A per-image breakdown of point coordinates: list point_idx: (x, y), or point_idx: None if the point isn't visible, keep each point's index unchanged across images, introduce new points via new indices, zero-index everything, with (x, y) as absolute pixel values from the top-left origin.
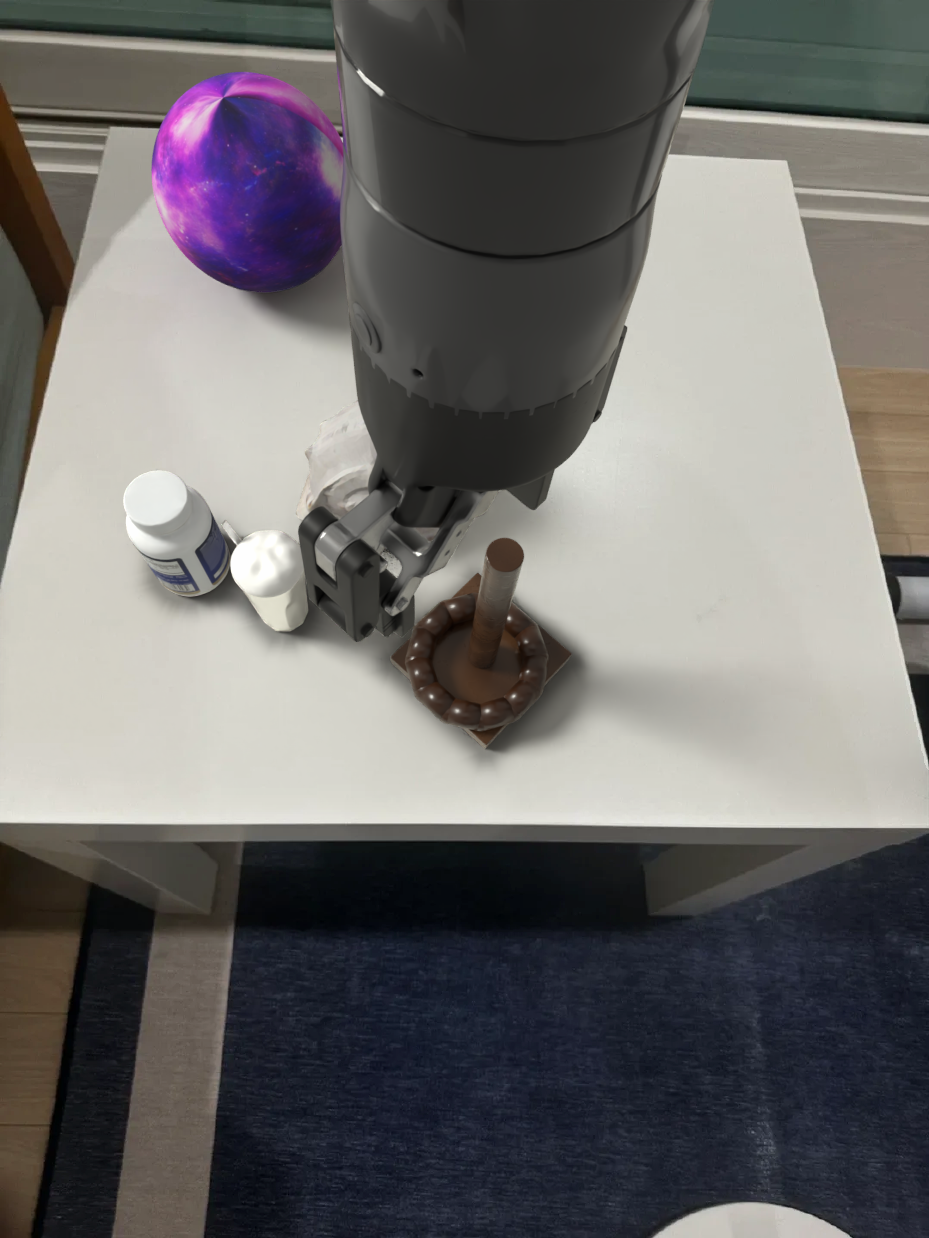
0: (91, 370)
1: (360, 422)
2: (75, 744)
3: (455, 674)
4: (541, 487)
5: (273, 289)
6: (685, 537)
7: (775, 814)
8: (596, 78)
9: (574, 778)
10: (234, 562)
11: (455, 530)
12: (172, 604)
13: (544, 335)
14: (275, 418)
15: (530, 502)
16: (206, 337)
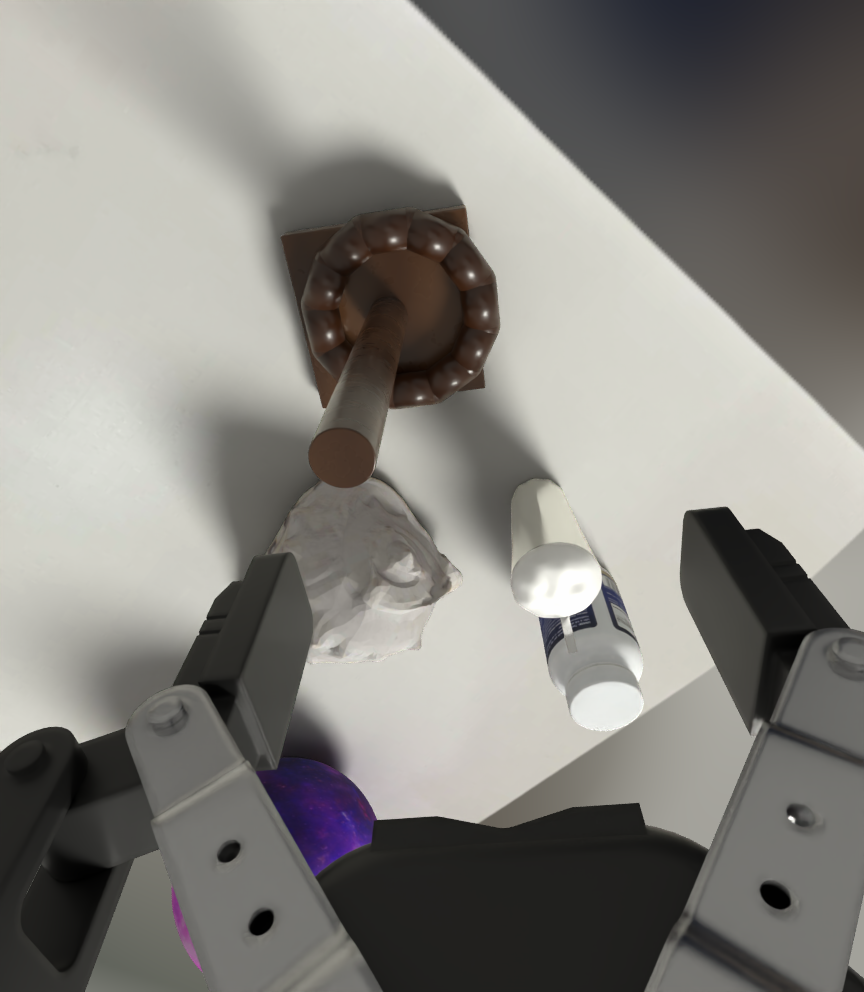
0: (514, 774)
1: (352, 655)
2: (803, 511)
3: (433, 317)
4: (262, 618)
5: (324, 773)
6: (28, 269)
7: None
8: None
9: (389, 73)
10: (588, 604)
11: (829, 962)
12: (622, 570)
13: None
14: (401, 663)
15: (289, 574)
16: (404, 751)
